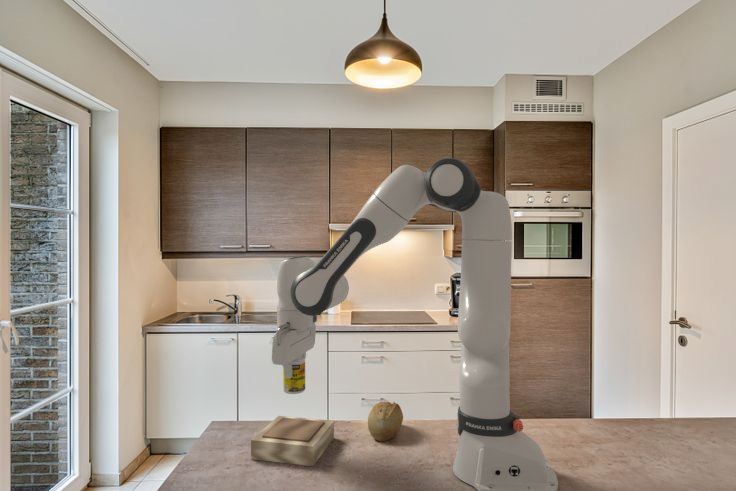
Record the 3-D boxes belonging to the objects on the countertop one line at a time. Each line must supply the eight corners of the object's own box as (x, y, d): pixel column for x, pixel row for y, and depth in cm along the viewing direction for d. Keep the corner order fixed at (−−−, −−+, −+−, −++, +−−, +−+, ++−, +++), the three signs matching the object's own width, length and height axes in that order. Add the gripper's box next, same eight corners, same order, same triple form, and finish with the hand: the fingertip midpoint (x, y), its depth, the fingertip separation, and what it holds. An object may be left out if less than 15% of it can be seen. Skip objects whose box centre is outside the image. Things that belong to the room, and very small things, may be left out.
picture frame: (333, 437, 121) (333, 419, 121) (313, 466, 105) (313, 444, 105) (278, 432, 124) (278, 414, 124) (250, 459, 109) (250, 438, 109)
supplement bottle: (288, 396, 111) (288, 355, 111) (280, 390, 115) (279, 350, 115) (309, 392, 114) (308, 351, 114) (299, 386, 118) (299, 347, 119)
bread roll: (404, 422, 131) (404, 395, 131) (401, 445, 116) (400, 414, 116) (372, 420, 133) (372, 393, 133) (364, 442, 118) (364, 412, 118)
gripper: (290, 327, 104) (290, 387, 104) (319, 314, 124) (319, 364, 124) (264, 326, 105) (265, 385, 105) (298, 313, 125) (298, 363, 125)
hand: (294, 373), depth 115 cm, fingers closed on supplement bottle, 6 cm apart
